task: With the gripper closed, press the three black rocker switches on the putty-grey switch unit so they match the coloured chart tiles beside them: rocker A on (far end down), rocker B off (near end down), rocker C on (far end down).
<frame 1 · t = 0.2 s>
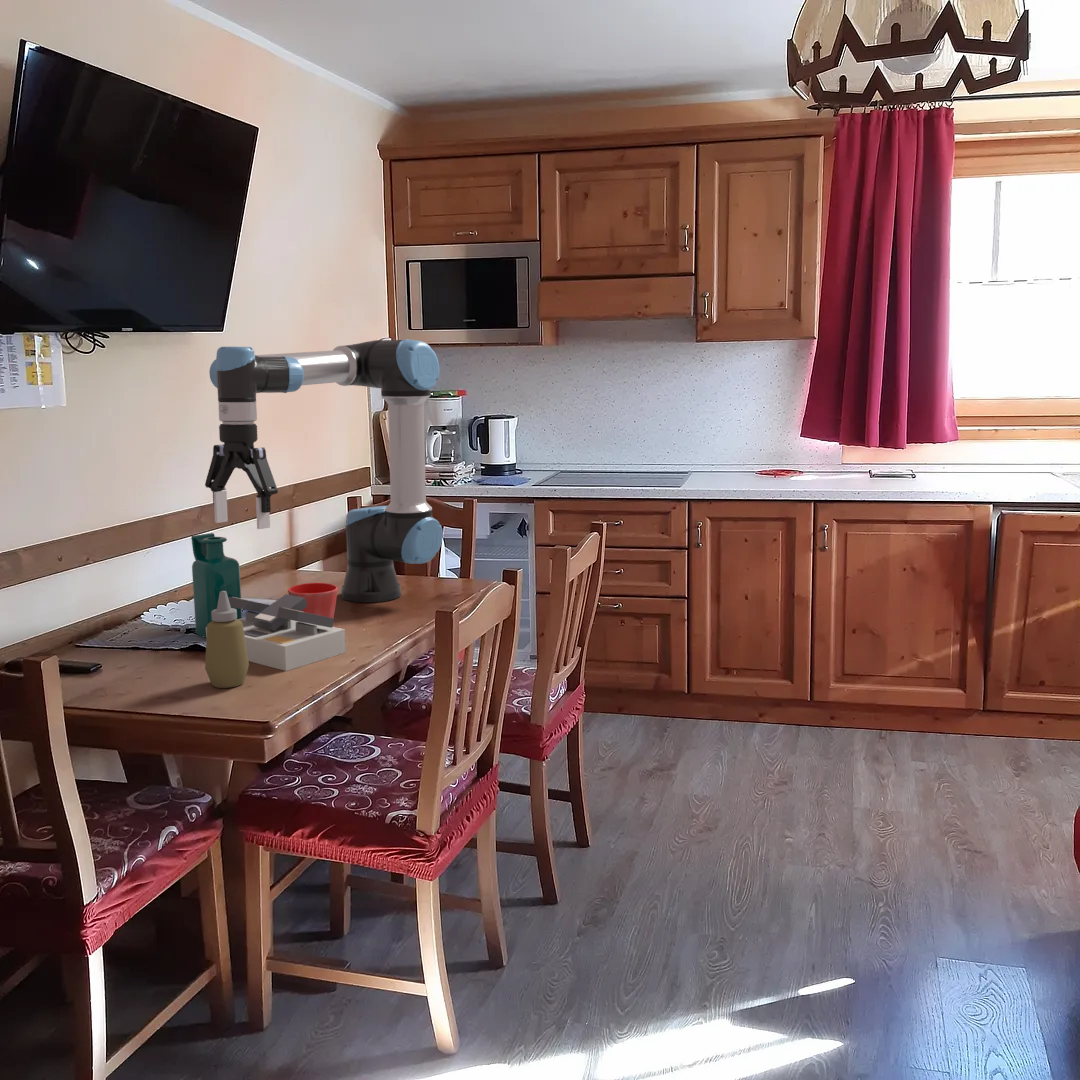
hand: (242, 525, 221), 26 cm above the table, fingers open, 13 cm apart
rocker A: (255, 606, 227), point 8 cm above the table, hinge at -20.0°
pitcher: (218, 634, 237), on the table
flower pot: (314, 630, 241), on the table
rocker C: (305, 617, 218), point 8 cm above the table, hinge at -20.0°
squeeze bottle: (228, 685, 201), on the table
rocker B: (279, 611, 223), point 8 cm above the table, hinge at 20.0°
switch unit: (276, 651, 223), on the table
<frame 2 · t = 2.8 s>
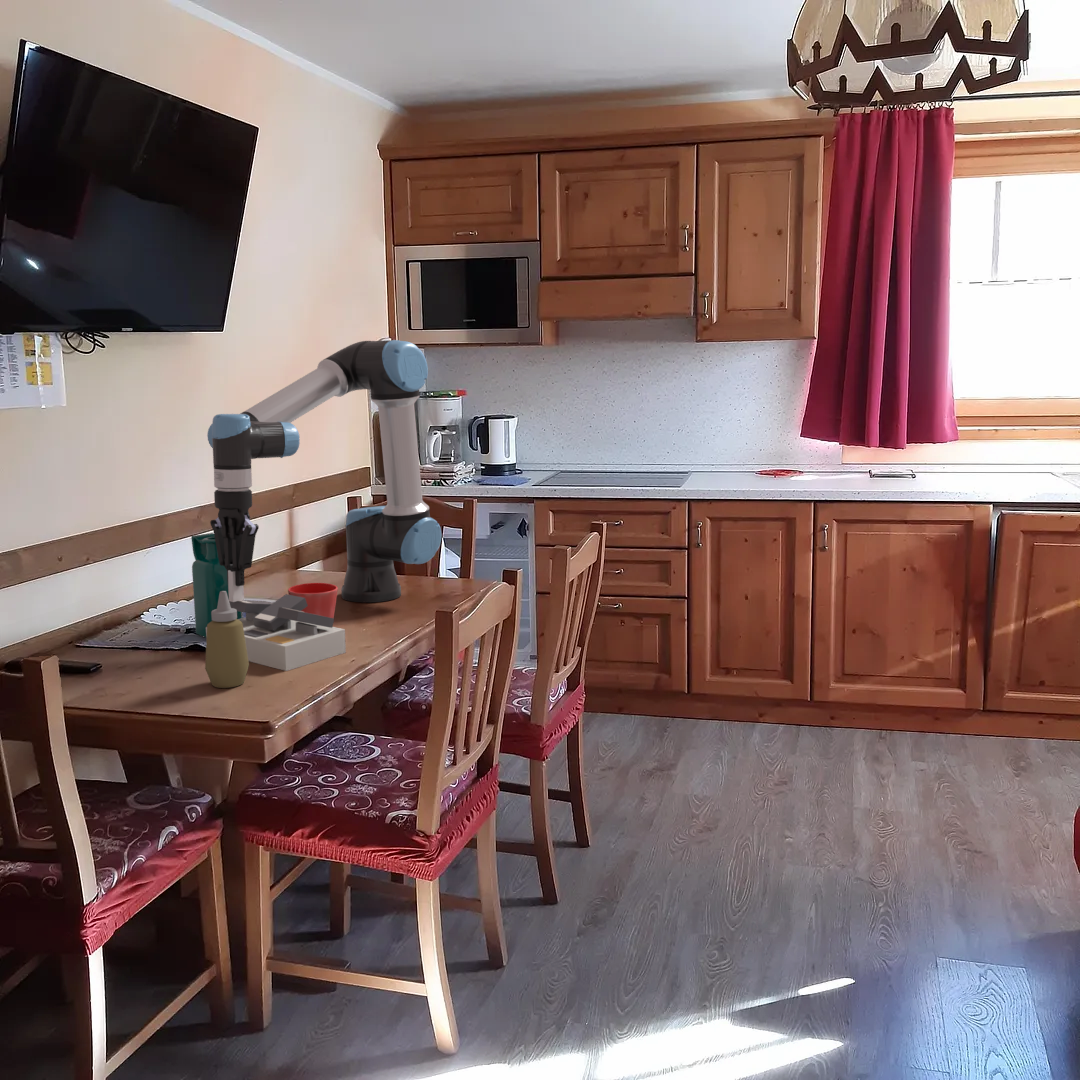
hand: (236, 600, 223), 11 cm above the table, fingers closed
rocker A: (255, 606, 227), point 8 cm above the table, hinge at -13.0°, touching gripper
everything else where it was.
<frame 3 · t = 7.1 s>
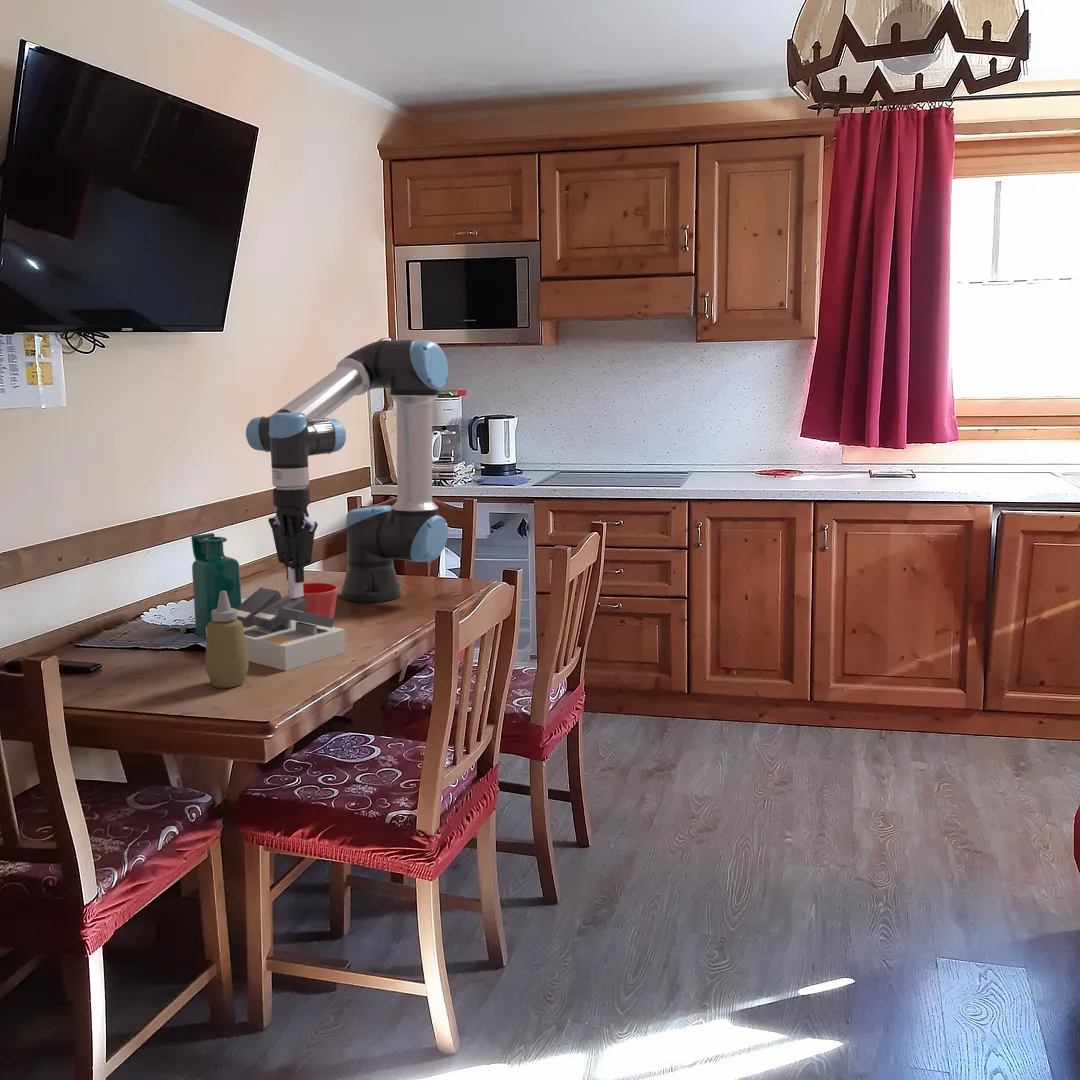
hand: (296, 596, 226), 11 cm above the table, fingers closed
rocker A: (255, 606, 227), point 8 cm above the table, hinge at 26.2°
rocker B: (279, 611, 223), point 8 cm above the table, hinge at 15.9°, touching gripper
everything else where it was.
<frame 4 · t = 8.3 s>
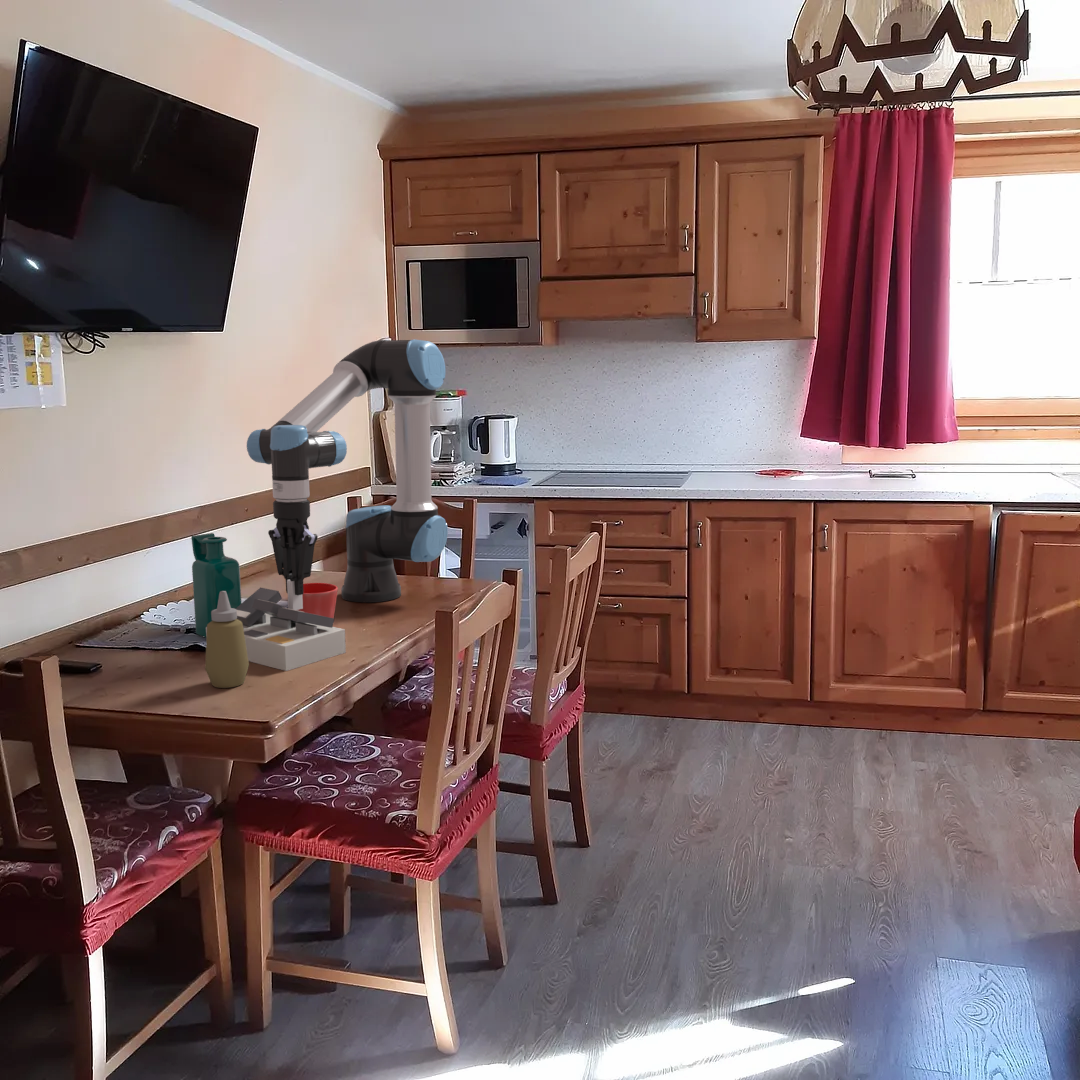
hand: (295, 609, 226), 8 cm above the table, fingers closed
rocker B: (280, 611, 223), point 8 cm above the table, hinge at -27.5°, touching gripper
everything else where it was.
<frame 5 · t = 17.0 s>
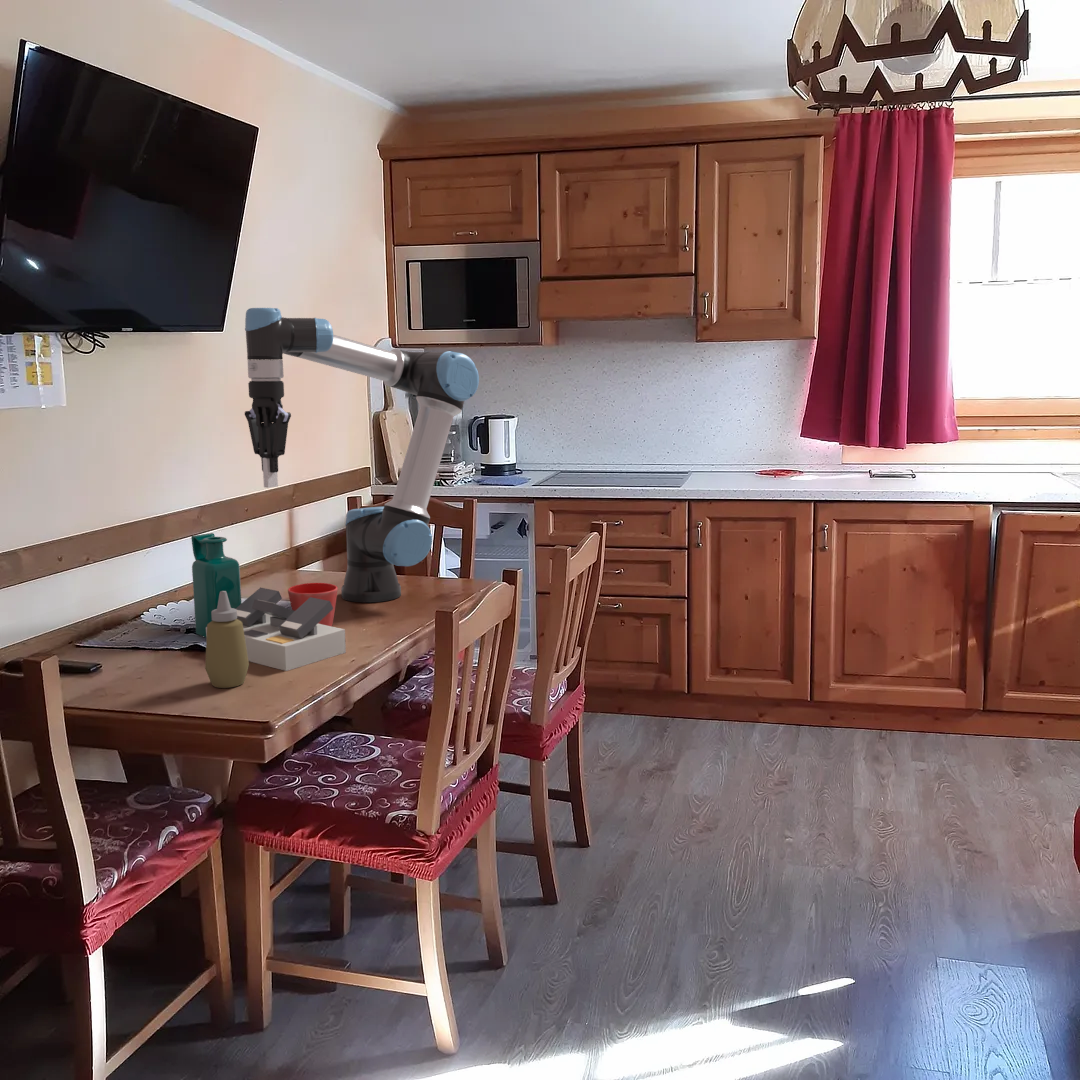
hand: (270, 486, 236), 32 cm above the table, fingers closed
rocker C: (305, 617, 218), point 8 cm above the table, hinge at 26.8°
rocker B: (280, 611, 223), point 8 cm above the table, hinge at -26.3°
everything else where it was.
at the end: rocker A at +26° (first picture: -20°); rocker B at -26° (first picture: +20°); rocker C at +27° (first picture: -20°) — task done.
